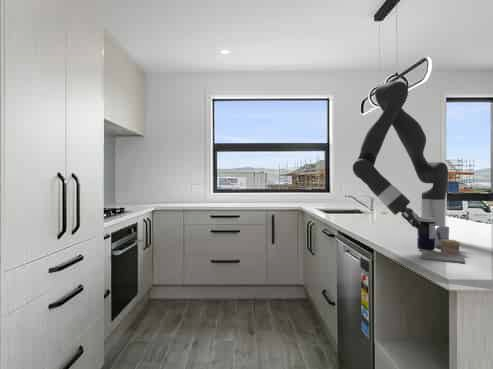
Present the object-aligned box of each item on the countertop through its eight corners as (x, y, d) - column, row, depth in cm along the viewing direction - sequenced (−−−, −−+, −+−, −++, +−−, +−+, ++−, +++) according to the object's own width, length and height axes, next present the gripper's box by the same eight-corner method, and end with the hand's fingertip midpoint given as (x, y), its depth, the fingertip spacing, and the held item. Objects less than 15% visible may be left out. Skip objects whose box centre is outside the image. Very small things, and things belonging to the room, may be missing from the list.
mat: (422, 252, 126) (422, 250, 126) (461, 256, 121) (461, 254, 121) (421, 259, 116) (421, 257, 116) (464, 263, 110) (464, 261, 110)
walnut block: (440, 251, 128) (440, 239, 128) (454, 252, 127) (454, 240, 127) (444, 254, 123) (444, 241, 123) (458, 255, 122) (459, 242, 122)
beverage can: (429, 248, 132) (429, 216, 132) (437, 252, 127) (438, 218, 126) (414, 248, 132) (414, 216, 132) (422, 252, 127) (423, 218, 126)
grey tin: (433, 245, 138) (434, 225, 138) (448, 247, 136) (448, 226, 136) (433, 248, 134) (434, 227, 134) (448, 249, 132) (449, 228, 132)
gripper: (399, 193, 127) (435, 227, 122) (402, 192, 139) (435, 223, 134) (383, 207, 129) (417, 241, 124) (388, 204, 142) (419, 235, 137)
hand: (426, 232), depth 129 cm, fingers open, 8 cm apart
